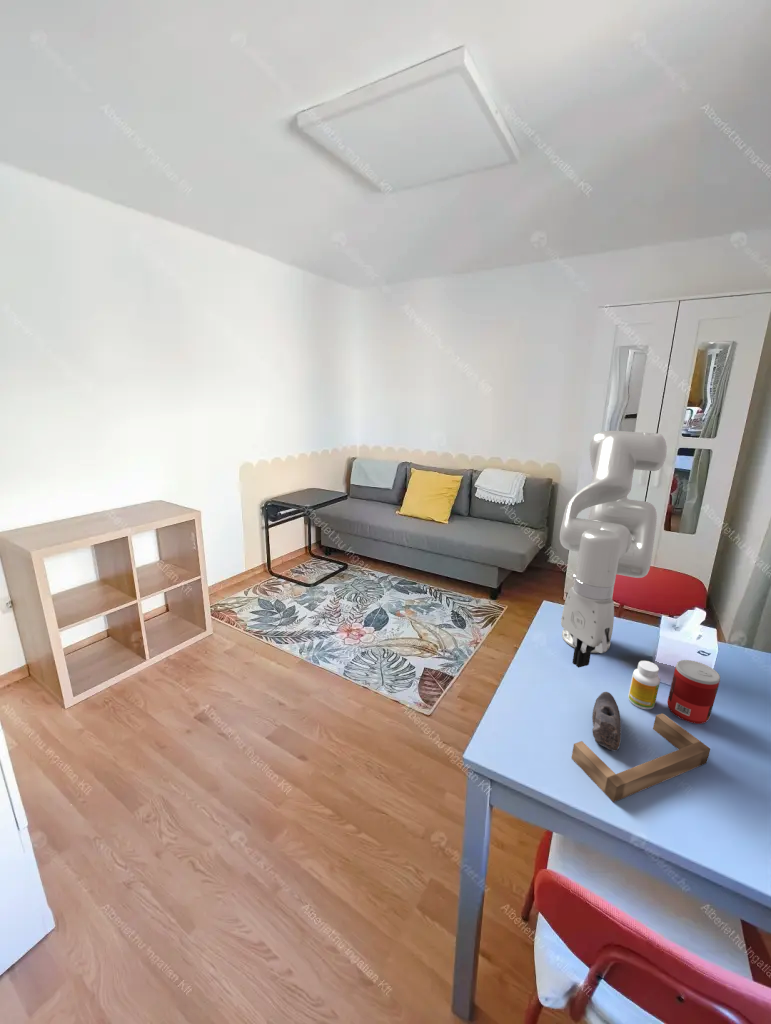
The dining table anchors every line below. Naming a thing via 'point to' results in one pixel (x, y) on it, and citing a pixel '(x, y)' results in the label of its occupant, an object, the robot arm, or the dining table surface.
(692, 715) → the canned food
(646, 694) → the supplement bottle
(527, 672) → the dining table surface
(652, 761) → the bay
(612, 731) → the perforated stone tool
